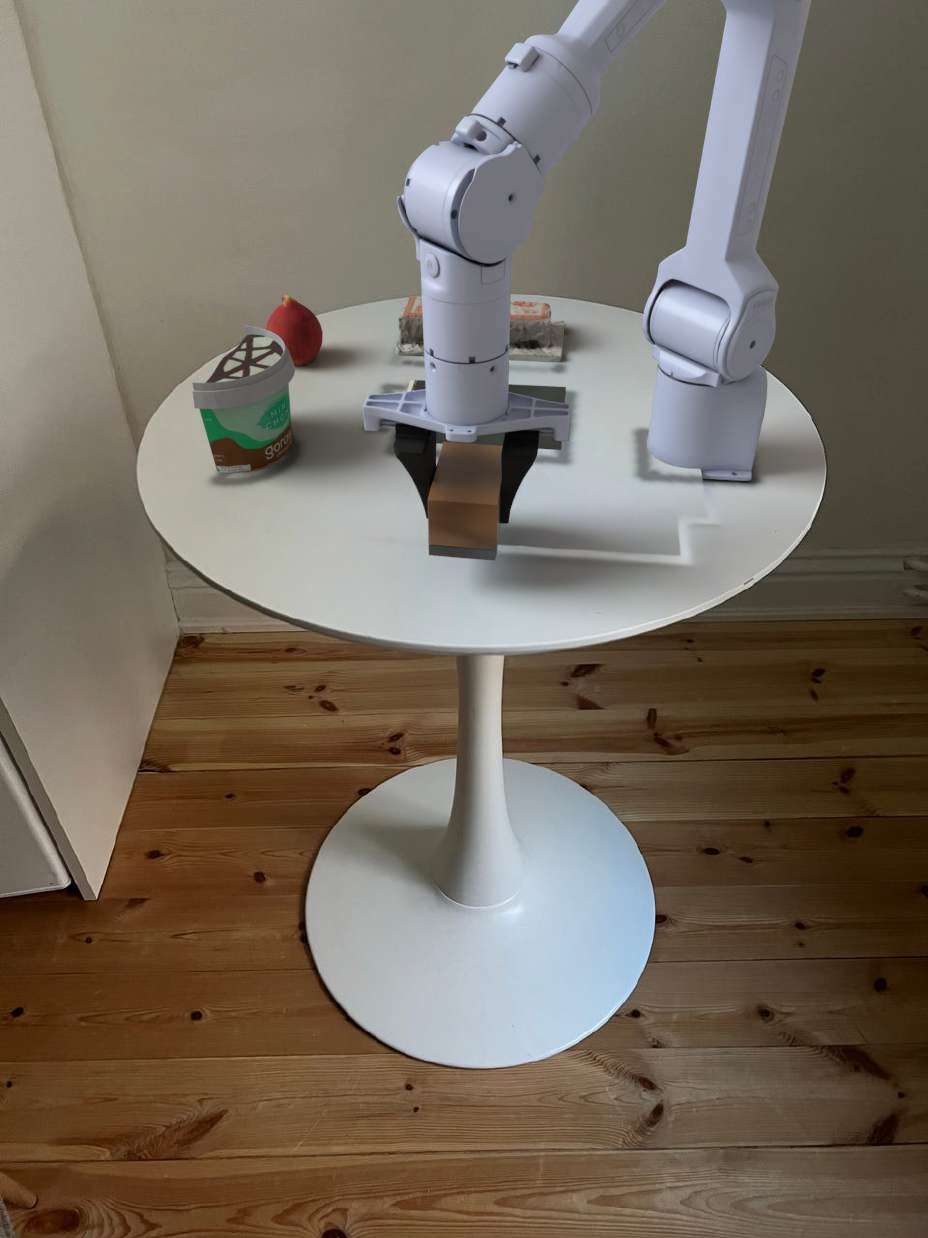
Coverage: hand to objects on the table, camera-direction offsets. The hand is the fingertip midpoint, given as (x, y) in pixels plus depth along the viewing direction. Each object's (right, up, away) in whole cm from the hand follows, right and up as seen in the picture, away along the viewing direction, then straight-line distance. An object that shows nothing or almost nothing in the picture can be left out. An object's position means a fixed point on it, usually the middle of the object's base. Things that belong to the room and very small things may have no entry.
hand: (468, 514), depth 70 cm
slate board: (+2, +11, +19) cm, 22 cm away
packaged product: (+2, +22, +32) cm, 39 cm away
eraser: (0, -1, +1) cm, 1 cm away
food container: (-18, +7, +15) cm, 25 cm away
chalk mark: (-7, +15, +23) cm, 29 cm away
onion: (-18, +19, +29) cm, 39 cm away
